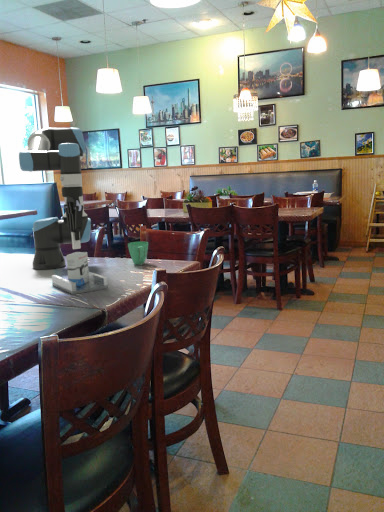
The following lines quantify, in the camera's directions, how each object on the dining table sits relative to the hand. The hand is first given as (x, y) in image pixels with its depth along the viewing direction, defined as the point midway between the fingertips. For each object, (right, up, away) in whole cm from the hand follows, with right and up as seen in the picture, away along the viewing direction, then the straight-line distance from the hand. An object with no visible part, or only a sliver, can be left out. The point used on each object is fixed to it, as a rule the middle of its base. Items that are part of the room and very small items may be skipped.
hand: (76, 248), depth 170 cm
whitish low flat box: (+1, -15, +2) cm, 15 cm away
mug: (+19, -7, +43) cm, 48 cm away
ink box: (0, -14, +2) cm, 14 cm away
